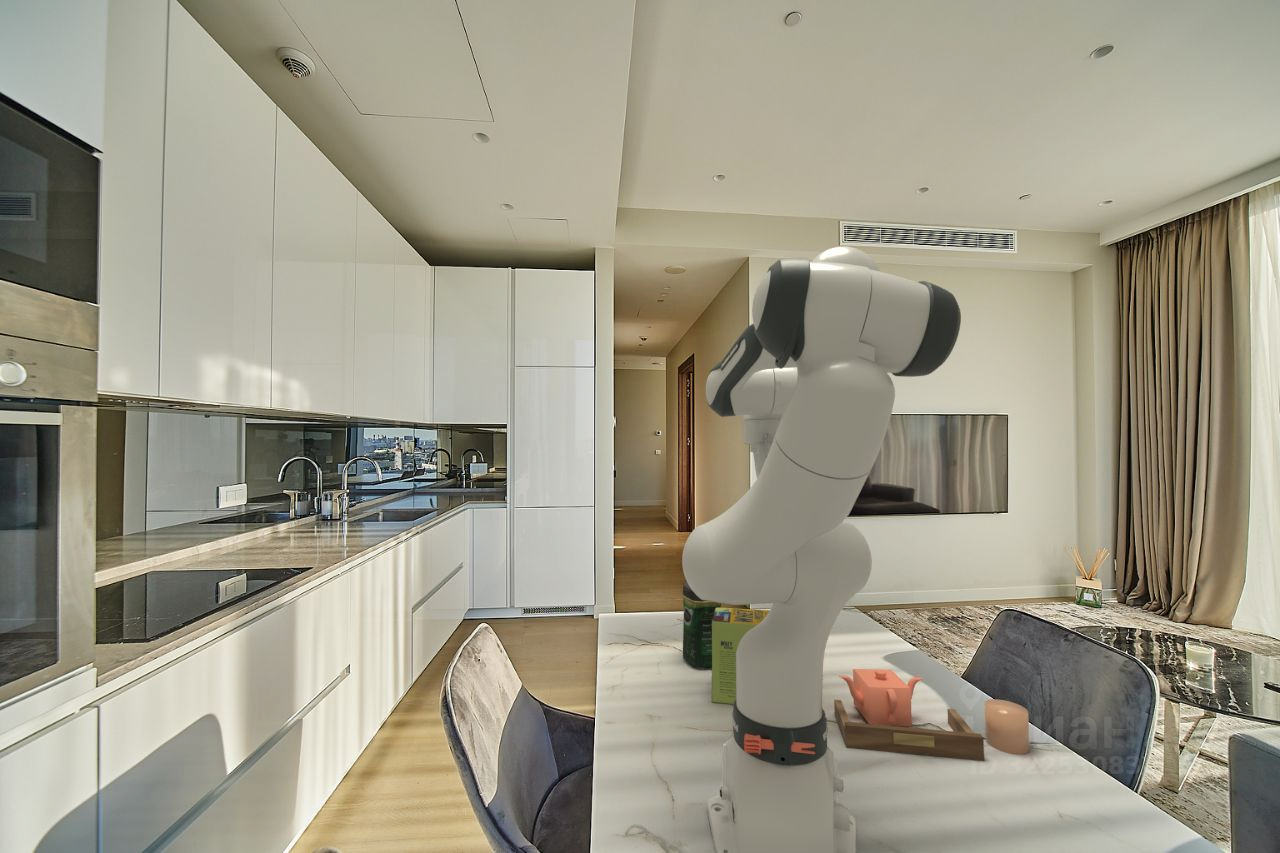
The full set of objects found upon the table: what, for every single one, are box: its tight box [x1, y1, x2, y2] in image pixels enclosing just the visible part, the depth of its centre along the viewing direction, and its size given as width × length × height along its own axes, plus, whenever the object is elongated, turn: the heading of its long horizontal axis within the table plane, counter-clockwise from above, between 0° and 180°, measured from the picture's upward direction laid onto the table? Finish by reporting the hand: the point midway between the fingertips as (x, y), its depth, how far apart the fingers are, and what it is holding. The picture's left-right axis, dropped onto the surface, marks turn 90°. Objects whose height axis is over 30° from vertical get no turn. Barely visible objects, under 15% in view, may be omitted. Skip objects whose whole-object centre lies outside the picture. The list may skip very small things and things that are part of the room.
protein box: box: [711, 607, 770, 705], centre depth 108 cm, size 10×15×16 cm
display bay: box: [833, 699, 985, 762], centre depth 92 cm, size 12×20×4 cm, turn 79°
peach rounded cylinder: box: [984, 698, 1031, 756], centre depth 90 cm, size 6×6×6 cm
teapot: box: [838, 668, 924, 728], centre depth 99 cm, size 12×15×8 cm
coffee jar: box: [682, 581, 722, 670], centre depth 125 cm, size 10×8×19 cm
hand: (767, 505), depth 107 cm, fingers closed
